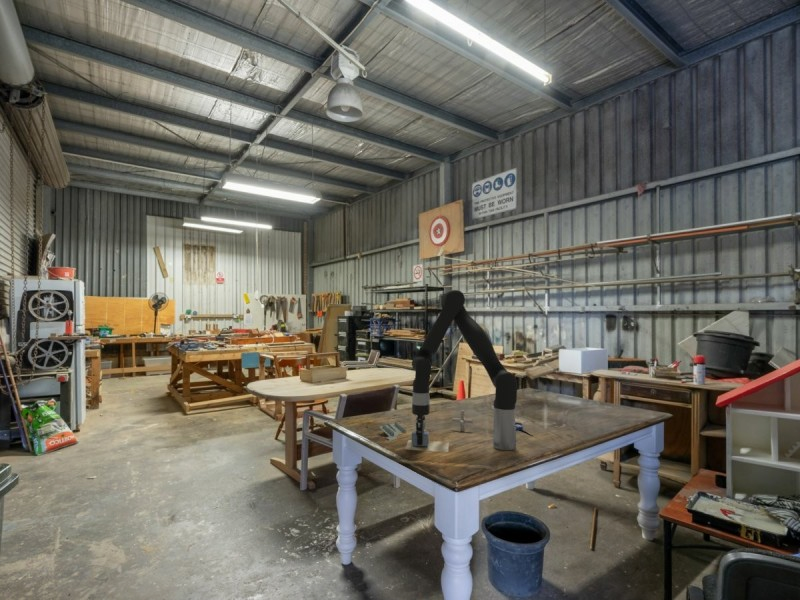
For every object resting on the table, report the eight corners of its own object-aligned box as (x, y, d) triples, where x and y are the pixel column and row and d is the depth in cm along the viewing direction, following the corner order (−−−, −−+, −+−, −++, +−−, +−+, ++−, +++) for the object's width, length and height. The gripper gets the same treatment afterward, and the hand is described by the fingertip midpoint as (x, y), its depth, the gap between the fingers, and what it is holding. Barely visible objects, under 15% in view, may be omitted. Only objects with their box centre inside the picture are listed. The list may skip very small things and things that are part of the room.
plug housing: (428, 443, 172) (428, 431, 172) (428, 446, 168) (428, 434, 168) (412, 442, 173) (412, 430, 173) (411, 445, 169) (411, 433, 169)
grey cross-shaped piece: (454, 427, 205) (454, 407, 205) (473, 429, 202) (473, 409, 202) (450, 432, 195) (450, 412, 196) (471, 434, 192) (471, 413, 192)
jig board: (448, 445, 176) (449, 436, 176) (448, 455, 163) (448, 445, 163) (408, 442, 179) (408, 434, 179) (404, 452, 166) (404, 443, 166)
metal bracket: (375, 423, 190) (399, 418, 200) (372, 433, 191) (397, 428, 201) (392, 438, 180) (417, 432, 189) (390, 450, 181) (414, 443, 190)
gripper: (428, 406, 164) (427, 448, 163) (430, 399, 178) (430, 438, 177) (410, 405, 165) (409, 447, 164) (414, 398, 179) (413, 437, 178)
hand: (420, 442), depth 171 cm, fingers closed on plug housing, 4 cm apart
